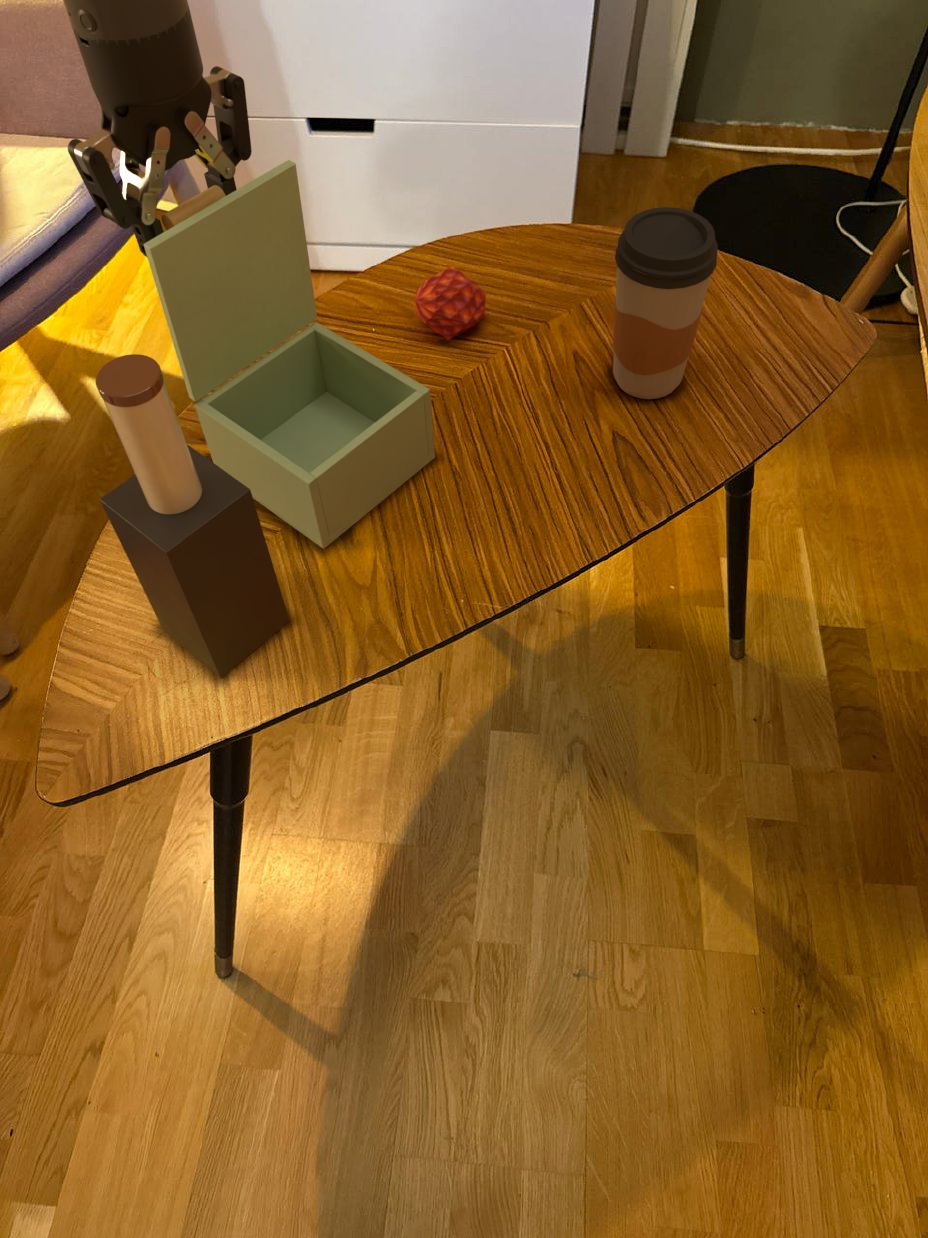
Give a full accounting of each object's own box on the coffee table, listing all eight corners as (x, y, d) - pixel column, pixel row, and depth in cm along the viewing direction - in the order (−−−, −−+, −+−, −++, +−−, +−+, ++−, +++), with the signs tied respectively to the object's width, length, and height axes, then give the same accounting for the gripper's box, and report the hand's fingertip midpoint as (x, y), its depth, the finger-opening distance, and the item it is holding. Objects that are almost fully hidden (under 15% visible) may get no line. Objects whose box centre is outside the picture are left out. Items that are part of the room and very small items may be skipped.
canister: (170, 524, 63) (121, 406, 55) (134, 496, 64) (81, 377, 56) (214, 491, 65) (173, 371, 56) (178, 465, 66) (133, 344, 58)
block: (221, 679, 74) (166, 552, 62) (162, 629, 77) (98, 498, 64) (290, 621, 77) (250, 489, 65) (231, 575, 80) (182, 440, 67)
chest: (435, 457, 87) (430, 389, 80) (323, 549, 81) (308, 483, 75) (327, 389, 92) (315, 321, 86) (216, 471, 86) (193, 404, 80)
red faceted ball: (484, 354, 98) (414, 351, 93) (459, 307, 100) (390, 302, 96) (512, 303, 93) (440, 298, 89) (485, 256, 96) (414, 248, 92)
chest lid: (296, 162, 73) (250, 136, 75) (150, 248, 67) (104, 218, 69) (317, 318, 85) (278, 293, 87) (195, 402, 79) (155, 373, 81)
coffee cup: (707, 366, 92) (738, 221, 80) (668, 420, 88) (695, 276, 76) (626, 337, 95) (645, 192, 83) (585, 388, 91) (599, 244, 79)
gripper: (179, -47, 68) (233, 182, 81) (-2, 32, 62) (90, 265, 75) (251, -18, 65) (295, 216, 78) (69, 68, 59) (151, 305, 72)
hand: (194, 239), depth 77 cm, fingers open, 6 cm apart
